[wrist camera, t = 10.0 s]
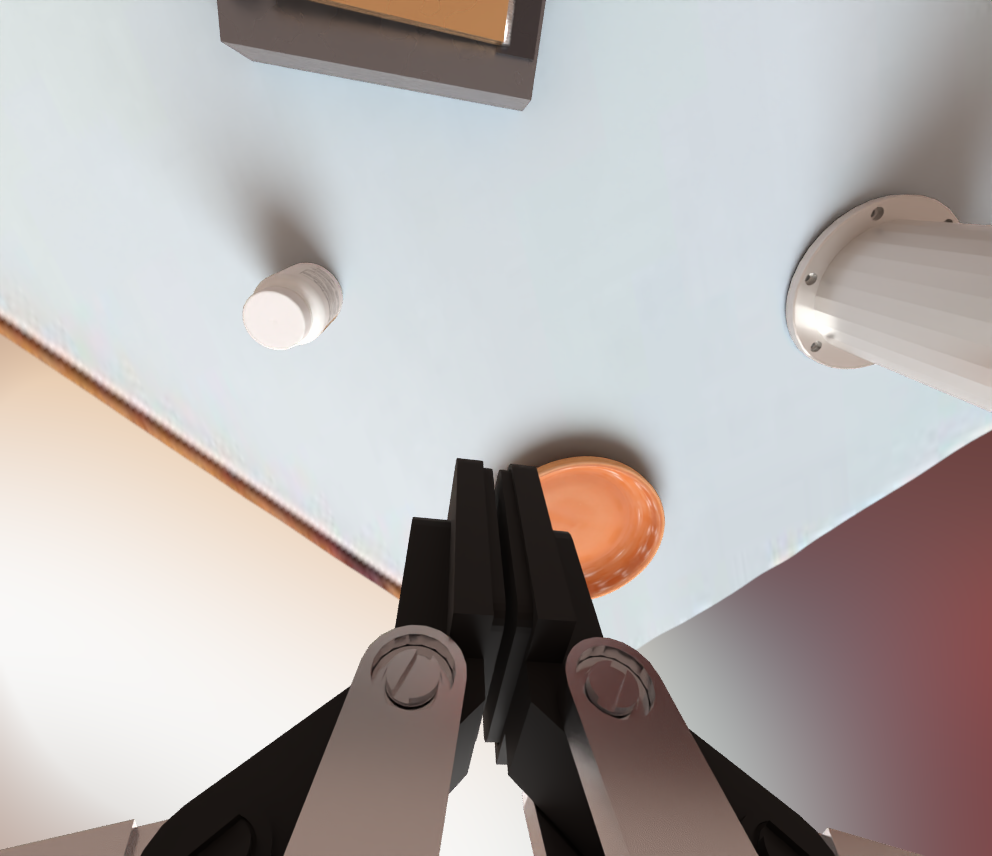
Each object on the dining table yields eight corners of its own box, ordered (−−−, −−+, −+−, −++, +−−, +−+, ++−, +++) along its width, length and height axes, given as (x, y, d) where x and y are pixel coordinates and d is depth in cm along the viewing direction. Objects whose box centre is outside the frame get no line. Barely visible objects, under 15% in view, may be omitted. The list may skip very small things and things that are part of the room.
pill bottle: (287, 326, 34) (244, 360, 27) (273, 262, 32) (222, 282, 25) (348, 323, 34) (321, 357, 27) (338, 260, 32) (305, 279, 25)
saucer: (677, 455, 42) (692, 473, 39) (625, 587, 49) (635, 609, 46) (502, 434, 40) (505, 451, 37) (474, 574, 47) (475, 598, 44)
